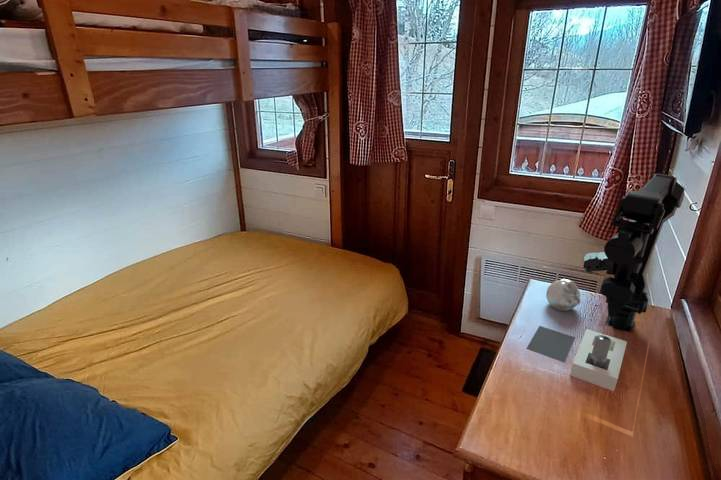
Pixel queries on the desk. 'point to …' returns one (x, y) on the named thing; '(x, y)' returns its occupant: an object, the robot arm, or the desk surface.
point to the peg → (600, 351)
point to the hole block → (595, 374)
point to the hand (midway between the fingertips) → (613, 307)
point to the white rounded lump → (563, 295)
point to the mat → (551, 343)
